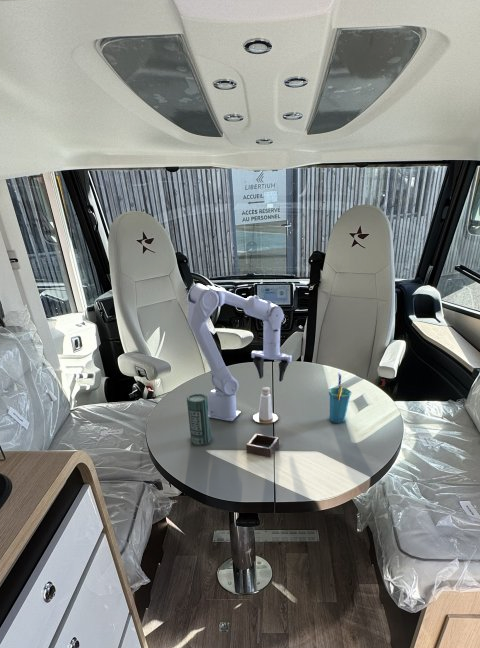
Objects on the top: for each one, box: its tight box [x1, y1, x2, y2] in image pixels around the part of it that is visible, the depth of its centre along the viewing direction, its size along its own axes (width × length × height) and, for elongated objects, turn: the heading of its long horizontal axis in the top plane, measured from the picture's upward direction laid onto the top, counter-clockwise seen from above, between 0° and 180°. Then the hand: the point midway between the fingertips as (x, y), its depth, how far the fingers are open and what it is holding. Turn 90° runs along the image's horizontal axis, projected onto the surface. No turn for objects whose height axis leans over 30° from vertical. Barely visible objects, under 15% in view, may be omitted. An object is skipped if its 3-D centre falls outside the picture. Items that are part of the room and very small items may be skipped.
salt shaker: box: [258, 386, 273, 420], centre depth 155 cm, size 5×5×11 cm
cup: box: [328, 372, 352, 424], centre depth 154 cm, size 14×8×15 cm, turn 179°
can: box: [186, 393, 212, 446], centre depth 140 cm, size 6×6×15 cm
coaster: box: [252, 412, 279, 425], centre depth 158 cm, size 9×9×1 cm
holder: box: [245, 433, 280, 458], centre depth 139 cm, size 8×8×3 cm
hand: (271, 379), depth 161 cm, fingers open, 7 cm apart
